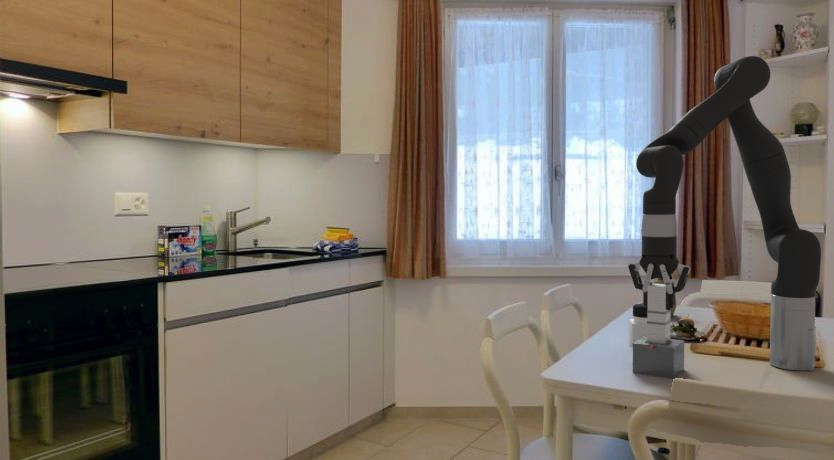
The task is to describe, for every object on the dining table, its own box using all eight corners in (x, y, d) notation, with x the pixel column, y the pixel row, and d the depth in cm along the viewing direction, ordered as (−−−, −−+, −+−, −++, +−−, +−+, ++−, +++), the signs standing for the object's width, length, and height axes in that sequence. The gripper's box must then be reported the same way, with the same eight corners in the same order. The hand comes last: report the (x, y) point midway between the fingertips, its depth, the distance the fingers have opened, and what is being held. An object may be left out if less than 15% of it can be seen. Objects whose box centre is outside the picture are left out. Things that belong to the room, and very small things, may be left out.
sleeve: (703, 373, 150) (703, 339, 150) (686, 390, 137) (686, 353, 137) (634, 363, 160) (634, 331, 159) (612, 378, 147) (612, 344, 146)
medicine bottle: (660, 351, 172) (660, 306, 171) (632, 350, 173) (632, 305, 173) (655, 344, 179) (656, 302, 178) (629, 344, 180) (629, 301, 180)
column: (670, 361, 149) (671, 284, 148) (665, 366, 145) (666, 286, 144) (651, 359, 151) (652, 283, 150) (646, 363, 148) (646, 285, 147)
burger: (653, 336, 191) (653, 311, 191) (686, 332, 195) (686, 308, 194) (681, 344, 180) (681, 318, 179) (715, 341, 183) (716, 315, 183)
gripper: (696, 233, 146) (695, 309, 147) (633, 232, 154) (632, 303, 155) (688, 236, 140) (687, 314, 141) (622, 234, 148) (622, 308, 149)
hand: (658, 308), depth 148 cm, fingers closed on column, 4 cm apart
